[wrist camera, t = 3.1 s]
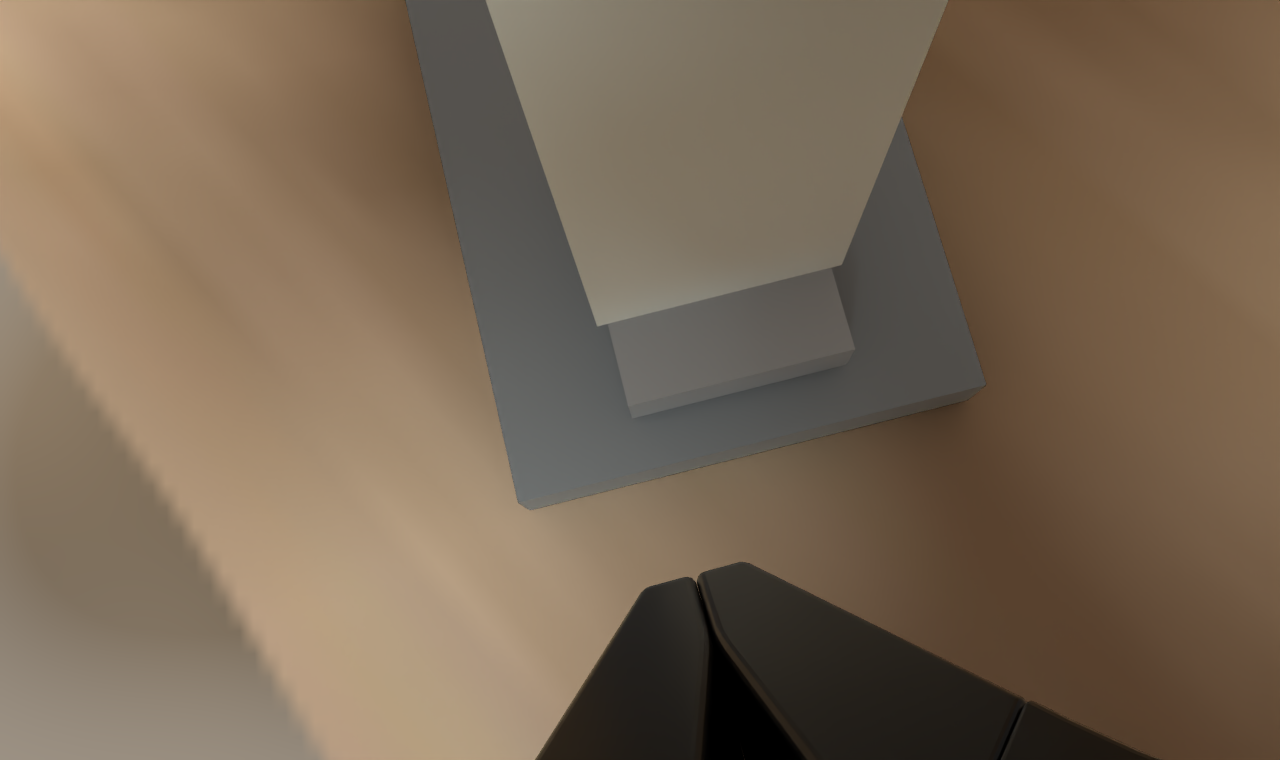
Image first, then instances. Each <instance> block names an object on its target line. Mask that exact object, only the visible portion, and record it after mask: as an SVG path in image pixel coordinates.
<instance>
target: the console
mask: <svg viewBox="0 0 1280 760" xmlns="http://www.w3.org/2000/svg"><path fill="white" fill-rule="evenodd" d="M405 1H406V6H407V10H408V15H409V19H410V23H411V28H412V32H413V37H414V41H415V46H416V50H417V55H418V59H419V64H420V68H421V72H422V77H423V81H424V86H425V90H426V95H427V99H428V104H429V108H430V113H431V117H432V121H433V126H434V130H435V135H436V139H437V144H438V148H439V153H440V157H441V161H442V166H443V170H444V175H445V179H446V184H447V188H448V193H449V197H450V202H451V206H452V210H453V215H454V219H455V224H456V228H457V233H458V237H459V242H460V246H461V251H462V255H463V259H464V264H465V268H466V273H467V277H468V282H469V286H470V291H471V295H472V299H473V304H474V308H475V313H476V317H477V322H478V326H479V331H480V335H481V340H482V344H483V348H484V353H485V357H486V362H487V366H488V371H489V375H490V380H491V384H492V389H493V393H494V397H495V402H496V406H497V411H498V415H499V420H500V424H501V429H502V433H503V437H504V442H505V446H506V451H507V455H508V460H509V464H510V469H511V473H512V478H513V482H514V486H515V491H516V495H517V500H518V503H519V504H521V505H522V506H524V507H525V508H527V509H528V510H533V509H537V508H541V507H545V506H549V505H553V504H557V503H561V502H565V501H569V500H573V499H577V498H581V497H585V496H589V495H593V494H597V493H601V492H605V491H609V490H613V489H617V488H621V487H625V486H629V485H633V484H637V483H641V482H645V481H648V480H652V479H656V478H660V477H664V476H668V475H672V474H676V473H680V472H684V471H688V470H692V469H696V468H700V467H704V466H708V465H712V464H716V463H720V462H724V461H728V460H732V459H736V458H740V457H744V456H748V455H752V454H756V453H760V452H764V451H768V450H772V449H776V448H780V447H783V446H787V445H791V444H795V443H799V442H803V441H807V440H811V439H815V438H819V437H823V436H827V435H831V434H835V433H839V432H843V431H847V430H851V429H855V428H859V427H863V426H867V425H871V424H875V423H879V422H883V421H887V420H891V419H895V418H899V417H903V416H907V415H911V414H915V413H918V412H922V411H926V410H930V409H934V408H938V407H942V406H946V405H950V404H954V403H958V402H962V401H966V400H969V399H970V398H971V397H972V396H973V395H975V394H976V393H977V392H978V391H980V390H981V389H982V388H983V387H984V386H986V382H985V379H984V375H983V372H982V369H981V366H980V363H979V360H978V356H977V353H976V350H975V347H974V344H973V341H972V337H971V334H970V331H969V328H968V325H967V322H966V318H965V315H964V312H963V309H962V306H961V302H960V299H959V296H958V293H957V290H956V287H955V283H954V280H953V277H952V274H951V271H950V268H949V264H948V261H947V258H946V255H945V252H944V249H943V245H942V242H941V239H940V236H939V233H938V230H937V226H936V223H935V220H934V217H933V214H932V211H931V207H930V204H929V201H928V198H927V195H926V192H925V188H924V185H923V182H922V179H921V176H920V173H919V169H918V166H917V163H916V160H915V157H914V154H913V150H912V147H911V144H910V141H909V138H908V135H907V131H906V128H905V125H904V122H903V119H902V117H901V119H900V122H899V124H898V127H897V129H896V132H895V134H894V137H893V139H892V142H891V144H890V147H889V149H888V152H887V154H886V156H885V159H884V161H883V164H882V166H881V169H880V171H879V174H878V176H877V179H876V181H875V184H874V186H873V189H872V191H871V194H870V196H869V199H868V201H867V204H866V206H865V209H864V211H863V214H862V216H861V218H860V221H859V223H858V226H857V228H856V231H855V233H854V236H853V238H852V241H851V243H850V246H849V248H848V251H847V253H846V256H845V258H844V261H843V263H842V265H840V266H836V267H832V272H833V275H834V279H835V282H836V285H837V289H838V292H839V296H840V299H841V302H842V306H843V309H844V313H845V316H846V320H847V323H848V326H849V330H850V333H851V337H852V340H853V343H854V347H855V350H854V352H853V354H852V356H851V357H850V359H849V361H848V362H847V364H846V365H843V366H839V367H835V368H831V369H827V370H823V371H819V372H815V373H811V374H807V375H803V376H799V377H795V378H792V379H788V380H784V381H780V382H776V383H772V384H768V385H764V386H760V387H756V388H752V389H748V390H744V391H740V392H736V393H732V394H728V395H724V396H720V397H716V398H712V399H708V400H704V401H700V402H696V403H692V404H688V405H684V406H680V407H676V408H672V409H668V410H664V411H660V412H656V413H652V414H648V415H645V416H641V417H637V418H633V419H632V416H631V413H630V410H629V407H628V403H627V399H626V395H625V391H624V387H623V383H622V379H621V375H620V371H619V367H618V363H617V359H616V355H615V351H614V347H613V343H612V339H611V335H610V331H609V327H608V324H605V325H601V326H597V324H596V321H595V318H594V316H593V313H592V310H591V307H590V304H589V301H588V298H587V295H586V292H585V289H584V286H583V283H582V280H581V278H580V275H579V272H578V269H577V266H576V263H575V260H574V257H573V254H572V251H571V248H570V245H569V243H568V240H567V237H566V234H565V231H564V228H563V225H562V222H561V219H560V216H559V213H558V210H557V208H556V205H555V202H554V199H553V196H552V193H551V190H550V187H549V184H548V181H547V178H546V175H545V172H544V170H543V167H542V164H541V161H540V158H539V155H538V152H537V149H536V146H535V143H534V140H533V137H532V135H531V132H530V129H529V126H528V123H527V120H526V117H525V114H524V111H523V108H522V105H521V102H520V99H519V97H518V94H517V91H516V88H515V85H514V82H513V79H512V76H511V73H510V70H509V67H508V64H507V62H506V59H505V56H504V53H503V50H502V47H501V44H500V41H499V38H498V35H497V32H496V29H495V27H494V24H493V21H492V18H491V15H490V12H489V9H488V6H487V3H486V0H405Z"/></svg>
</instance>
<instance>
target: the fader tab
mask: <svg viewBox="0 0 1280 760" xmlns="http://www.w3.org/2000/svg"><path fill="white" fill-rule="evenodd" d="M486 3H487V6H488V9H489V12H490V15H491V18H492V21H493V24H494V27H495V29H496V32H497V35H498V38H499V41H500V44H501V47H502V50H503V53H504V56H505V59H506V62H507V64H508V67H509V70H510V73H511V76H512V79H513V82H514V85H515V88H516V91H517V94H518V97H519V99H520V102H521V105H522V108H523V111H524V114H525V117H526V120H527V123H528V126H529V129H530V132H531V135H532V137H533V140H534V143H535V146H536V149H537V152H538V155H539V158H540V161H541V164H542V167H543V170H544V172H545V175H546V178H547V181H548V184H549V187H550V190H551V193H552V196H553V199H554V202H555V205H556V208H557V210H558V213H559V216H560V219H561V222H562V225H563V228H564V231H565V234H566V237H567V240H568V243H569V245H570V248H571V251H572V254H573V257H574V260H575V263H576V266H577V269H578V272H579V275H580V278H581V280H582V283H583V286H584V289H585V292H586V295H587V298H588V301H589V304H590V307H591V310H592V313H593V316H594V318H595V321H596V324H597V326H601V325H605V324H608V327H609V331H610V335H611V339H612V343H613V347H614V351H615V355H616V359H617V363H618V367H619V371H620V375H621V379H622V383H623V387H624V391H625V395H626V399H627V403H628V407H629V410H630V413H631V416H632V419H633V418H637V417H641V416H645V415H648V414H652V413H656V412H660V411H664V410H668V409H672V408H676V407H680V406H684V405H688V404H692V403H696V402H700V401H704V400H708V399H712V398H716V397H720V396H724V395H728V394H732V393H736V392H740V391H744V390H748V389H752V388H756V387H760V386H764V385H768V384H772V383H776V382H780V381H784V380H788V379H792V378H795V377H799V376H803V375H807V374H811V373H815V372H819V371H823V370H827V369H831V368H835V367H839V366H843V365H846V364H847V362H848V361H849V359H850V357H851V356H852V354H853V352H854V350H855V347H854V343H853V340H852V337H851V333H850V330H849V326H848V323H847V320H846V316H845V313H844V309H843V306H842V302H841V299H840V296H839V292H838V289H837V285H836V282H835V279H834V275H833V272H832V267H836V266H840V265H842V263H843V261H844V258H845V256H846V253H847V251H848V248H849V246H850V243H851V241H852V238H853V236H854V233H855V231H856V228H857V226H858V223H859V221H860V218H861V216H862V214H863V211H864V209H865V206H866V204H867V201H868V199H869V196H870V194H871V191H872V189H873V186H874V184H875V181H876V179H877V176H878V174H879V171H880V169H881V166H882V164H883V161H884V159H885V156H886V154H887V152H888V149H889V147H890V144H891V142H892V139H893V137H894V134H895V132H896V129H897V127H898V124H899V122H900V119H901V117H902V114H903V112H904V109H905V107H906V104H907V102H908V99H909V97H910V95H911V92H912V90H913V87H914V85H915V82H916V80H917V77H918V75H919V72H920V70H921V67H922V65H923V62H924V60H925V57H926V55H927V52H928V50H929V47H930V45H931V42H932V40H933V37H934V35H935V33H936V30H937V28H938V25H939V23H940V20H941V18H942V15H943V13H944V10H945V8H946V5H947V3H948V0H486Z"/></svg>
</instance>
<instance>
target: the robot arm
mask: <svg viewBox="0 0 1280 760" xmlns="http://www.w3.org/2000/svg"><path fill="white" fill-rule="evenodd" d="M697 585H698V588H697ZM698 589H699V591H698ZM699 593H700V594H699ZM700 597H701V598H700ZM702 604H703V605H702ZM743 755H744V756H743ZM744 759H745V760H1162V759H1159V758H1157V757H1154V756H1151V755H1149V754H1146V753H1144V752H1142V751H1139V750H1137V749H1135V748H1133V747H1131V746H1128V745H1126V744H1124V743H1122V742H1119V741H1117V740H1115V739H1113V738H1111V737H1108V736H1106V735H1104V734H1102V733H1100V732H1097V731H1095V730H1093V729H1091V728H1089V727H1086V726H1084V725H1082V724H1080V723H1078V722H1075V721H1073V720H1071V719H1069V718H1067V717H1065V716H1063V715H1061V714H1059V713H1057V712H1055V711H1053V710H1051V709H1049V708H1047V707H1045V706H1043V705H1041V704H1038V703H1036V702H1034V701H1030V702H1026V701H1025V699H1024V698H1022V697H1020V696H1018V695H1016V694H1014V693H1012V692H1010V691H1008V690H1006V689H1004V688H1002V687H1000V686H998V685H996V684H994V683H992V682H990V681H988V680H985V679H983V678H981V677H979V676H977V675H975V674H973V673H971V672H969V671H967V670H965V669H963V668H961V667H959V666H957V665H955V664H953V663H951V662H949V661H947V660H945V659H943V658H941V657H939V656H937V655H935V654H933V653H931V652H929V651H926V650H924V649H922V648H920V647H918V646H916V645H914V644H912V643H910V642H908V641H906V640H904V639H902V638H900V637H898V636H896V635H894V634H892V633H890V632H888V631H886V630H884V629H882V628H880V627H878V626H876V625H874V624H872V623H870V622H867V621H865V620H863V619H861V618H859V617H857V616H855V615H853V614H851V613H849V612H847V611H845V610H843V609H841V608H839V607H837V606H835V605H833V604H831V603H829V602H827V601H825V600H823V599H821V598H819V597H817V596H815V595H813V594H811V593H809V592H806V591H804V590H802V589H800V588H798V587H796V586H794V585H792V584H790V583H788V582H786V581H784V580H782V579H780V578H778V577H776V576H774V575H772V574H770V573H768V572H766V571H764V570H762V569H760V568H758V567H756V566H754V565H752V564H750V563H745V562H738V563H735V564H731V565H727V566H724V567H720V568H717V569H713V570H709V571H706V572H703V573H701V574H700V575H699V576H698V579H697V584H696V582H695V581H694V580H693V579H692V578H689V577H683V578H680V579H676V580H672V581H668V582H665V583H661V584H657V585H653V586H650V587H647V588H646V589H645V590H644V591H642V592H641V594H640V595H639V597H638V598H637V600H636V602H635V603H634V605H633V606H632V608H631V609H630V611H629V613H628V614H627V616H626V617H625V619H624V621H623V622H622V624H621V625H620V627H619V628H618V630H617V632H616V633H615V635H614V636H613V638H612V639H611V641H610V643H609V644H608V646H607V647H606V649H605V650H604V652H603V654H602V655H601V657H600V658H599V660H598V662H597V663H596V665H595V666H594V668H593V669H592V671H591V673H590V674H589V676H588V677H587V679H586V680H585V682H584V684H583V685H582V687H581V688H580V690H579V691H578V693H577V695H576V696H575V698H574V699H573V701H572V703H571V704H570V706H569V707H568V709H567V710H566V712H565V714H564V715H563V717H562V718H561V720H560V721H559V723H558V725H557V726H556V728H555V729H554V731H553V732H552V734H551V736H550V737H549V739H548V740H547V742H546V743H545V745H544V747H543V748H542V750H541V751H540V753H539V755H538V756H537V758H536V759H535V760H744Z"/></svg>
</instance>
